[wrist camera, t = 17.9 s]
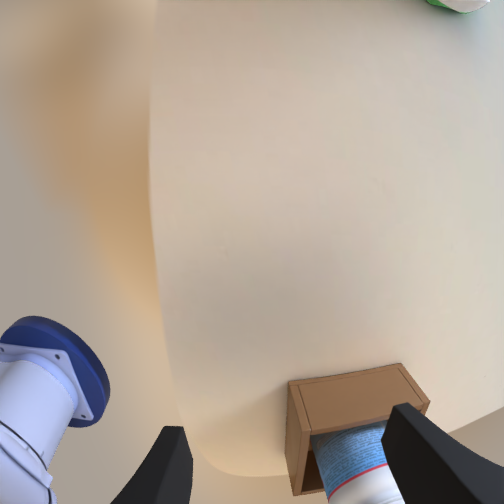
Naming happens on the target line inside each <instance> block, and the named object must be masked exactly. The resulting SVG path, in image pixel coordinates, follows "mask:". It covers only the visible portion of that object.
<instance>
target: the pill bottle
mask: <svg viewBox="0 0 504 504" xmlns="http://www.w3.org/2000/svg"><path fill="white" fill-rule="evenodd" d="M386 425H387V420H383V421H379V422H375V423H371V424H367V425H362V426H358V427H353V428H349V429H344V430H339V431H333V432H328V433H322V434H316V435H310V442H311V445H312V449H313V452H314V455H315V458H316V462H317V465H318V468H319V472H320V475H321V479H322V482H323V486H324V489H325V492H326V495H327V499H328V503H329V504H405V502H404V500H403V498H402V496H401V493H400V491H399V489H398V487H397V484H396V482H395V480H394V478H393V475H392V473H391V471H390V469H389V466H388V464H387V461H386V458H385V454H384V451H383V447H382V444H381V438H382V435H383V433H384V430H385V427H386Z"/></svg>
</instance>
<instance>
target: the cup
mask: <svg viewBox="0 0 504 504" xmlns="http://www.w3.org/2000/svg"><path fill="white" fill-rule="evenodd" d="M426 1H428V2H429V3H430V4H432V5H438V6H443V7H446V8H450V9H453V10H456V11H457V12H459V13H461V14H466V13H469V12H473V11H475V10H477V9H479V8H482V7H484V6H485V5H486V4H487V3H488V2H489V1H490V0H426Z"/></svg>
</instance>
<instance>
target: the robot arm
mask: <svg viewBox="0 0 504 504" xmlns="http://www.w3.org/2000/svg"><path fill="white" fill-rule="evenodd" d="M58 355H59V356H58ZM93 417H94V416H93V413H92V411H91V409H90V407H89V405H88V403H87V400H86V398H85V396H84V394H83V391H82V389H81V387H80V384H79V382H78V379H77V377H76V374H75V372H74V369H73V367H72V364H71V361H70V359H69V356H68V354H67V353H66V352H65V351H63V350H56V349H45V348H35V347H27V346H18V345H11V344H4V343H0V504H57V499H56V495H55V493H54V491H53V490H52V489H51V488H50V484H51V482H52V480H53V477H52V476H51V475H50V474H49V473H48V472H47V469H48V467H49V465H50V462H51V460H52V458H53V456H54V454H55V451H56V449H57V447H58V445H59V443H60V440H61V438H62V436H63V434H64V432H65V430H66V428H67V426H68V424H69V422H70V420H71V418H77V419H83V420H93ZM381 444H382V447H383V451H384V454H385V458H386V461H387V464H388V466H389V469H390V471H391V473H392V475H393V478H394V480H395V482H396V484H397V487H398V489H399V491H400V493H401V496H402V498H403V500H404V502H405V504H504V467H502V466H500V465H497V464H495V463H493V462H491V461H489V460H487V459H485V458H483V457H481V456H479V455H478V454H476V453H474V452H473V451H471V450H470V449H468V448H466V447H465V446H463V445H462V444H460V443H459V442H458V441H456V440H455V439H453V438H452V437H451V436H449V435H448V434H447V433H445V432H444V431H443V430H441V429H440V428H439V427H438V426H436V425H435V424H434V423H433V422H431V421H430V420H429V419H428V418H427V417H425V416H424V415H423V414H422V413H421V412H419V411H418V410H417V409H416V408H415V407H413V406H412V405H411V404H410V403H408V402H406V403H402V404H398V405H394V406H393V408H392V411H391V414H390V416H389V419H388V422H387V425H386V427H385V430H384V433H383V435H382V438H381ZM192 477H193V458H192V454H191V452H190V448H189V445H188V442H187V438H186V435H185V431H184V428H183V427H180V426H165V427H163V429H162V430H161V432H160V434H159V436H158V438H157V440H156V441H155V443H154V445H153V446H152V448H151V450H150V451H149V453H148V454H147V456H146V458H145V459H144V461H143V462H142V464H141V465H140V467H139V468H138V470H137V471H136V472H135V474H134V476H133V477H132V478H131V479H130V481H129V482H128V483H127V484H126V486H125V487H124V488H123V489H122V491H121V492H120V493H119V494H118V495H117V497H116V498H115V499H114V500H113V501H112V502H111V503H110V504H189V501H190V495H191V489H192Z"/></svg>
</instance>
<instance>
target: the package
mask: <svg viewBox="0 0 504 504" xmlns="http://www.w3.org/2000/svg"><path fill="white" fill-rule="evenodd" d="M406 402H408V403H410V404H411V405H412V406H413V407H415V408H416V409H417V410H418V411H419V412H421V413H422V414H423V415H424V416H425V413H426V411H427V409H428V406H429V404H430V400H429V399H428V398H427V396H426V395H425V394H424V392H423V391H422V390H421V388H420V387H419V386H418V384H417V383H416V382H415V380H414V379H413V378H412V376H411V375H410V374H409V373H408V371H407V370H406V369H405V367H404V366H403V365H402V364H401V363H398V364H393V365H389V366H384V367H379V368H374V369H369V370H364V371H358V372H353V373H347V374H341V375H334V376H328V377H321V378H314V379H306V380H298V381H289V382H288V400H287V422H286V440H285V457H286V462H287V467H288V472H289V477H290V482H291V487H292V492H293V496H298V495H306V494H311V493H317V492H323V491H325V489H324V486H323V482H322V479H321V475H320V472H319V468H318V465H317V462H316V458H315V455H314V452H313V449H312V445H311V442H310V435H316V434H322V433H328V432H333V431H339V430H344V429H349V428H353V427H358V426H362V425H367V424H371V423H375V422H379V421H383V420H387V422H388V419H389V416H390V414H391V411H392V408H393V406H394V405H398V404H402V403H406Z"/></svg>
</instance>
